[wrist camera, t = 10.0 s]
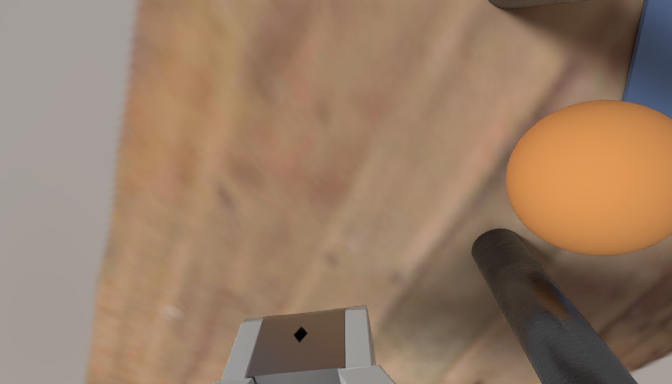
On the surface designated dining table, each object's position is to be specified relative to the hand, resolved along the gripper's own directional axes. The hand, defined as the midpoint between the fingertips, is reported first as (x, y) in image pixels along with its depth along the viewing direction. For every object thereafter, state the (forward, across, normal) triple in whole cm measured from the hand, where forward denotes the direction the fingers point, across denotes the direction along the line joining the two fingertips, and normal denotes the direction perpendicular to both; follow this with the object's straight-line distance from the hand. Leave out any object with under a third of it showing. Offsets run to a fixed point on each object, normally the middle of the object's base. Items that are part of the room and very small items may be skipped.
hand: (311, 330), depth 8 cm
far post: (+10, +9, -5) cm, 14 cm away
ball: (+6, +11, 0) cm, 12 cm away
